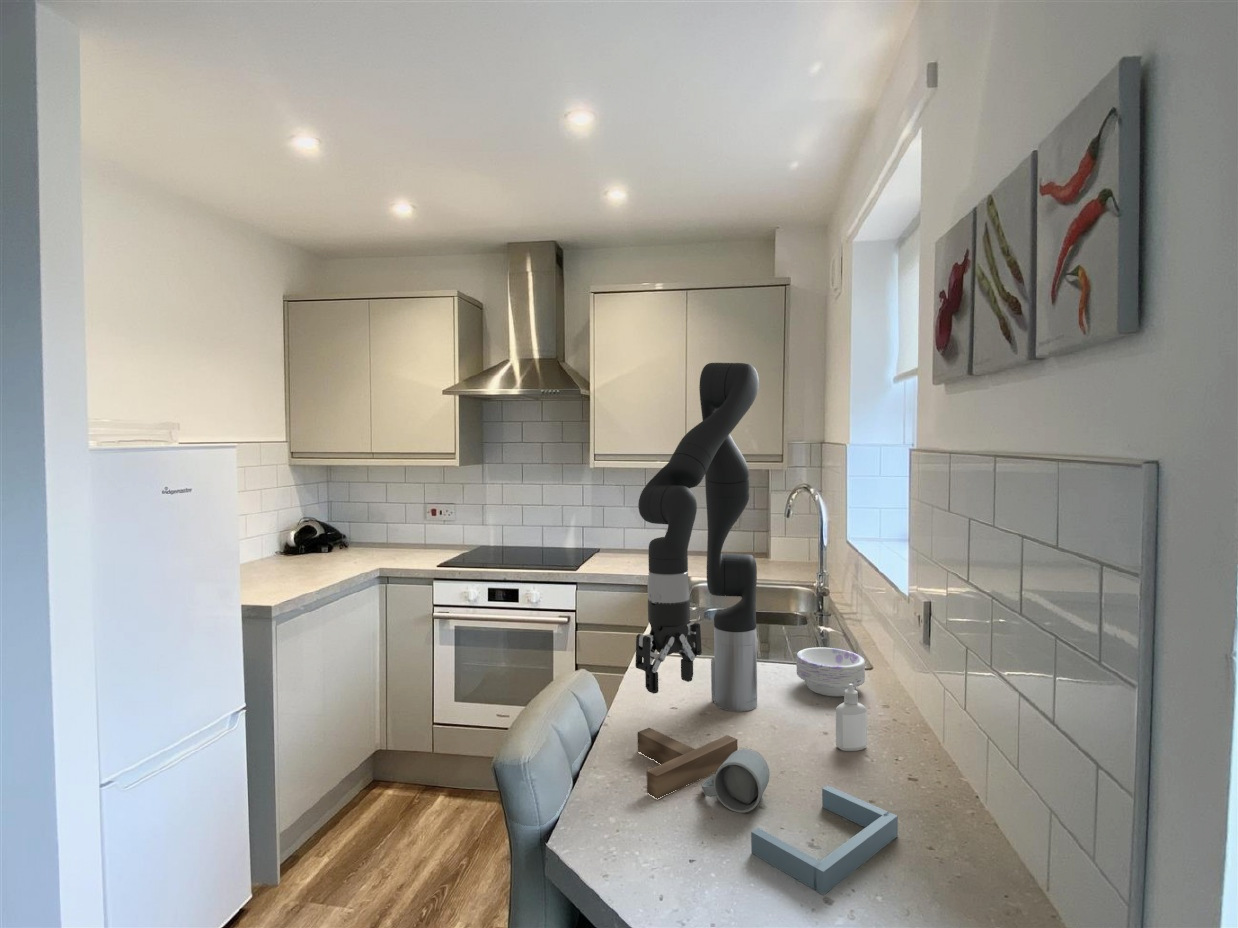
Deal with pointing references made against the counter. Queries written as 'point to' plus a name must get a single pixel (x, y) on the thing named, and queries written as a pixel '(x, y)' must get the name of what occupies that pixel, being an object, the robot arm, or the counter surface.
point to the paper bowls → (830, 670)
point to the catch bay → (840, 861)
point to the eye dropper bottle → (851, 722)
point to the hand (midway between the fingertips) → (670, 686)
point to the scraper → (680, 760)
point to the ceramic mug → (739, 780)
